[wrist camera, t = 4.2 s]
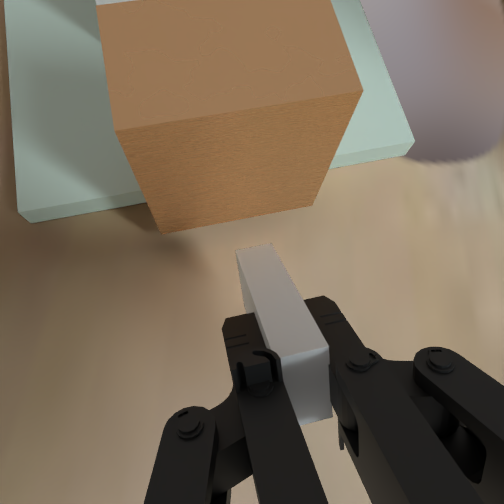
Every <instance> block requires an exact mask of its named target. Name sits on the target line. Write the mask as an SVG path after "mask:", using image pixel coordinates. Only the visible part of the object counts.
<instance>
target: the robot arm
mask: <svg viewBox="0 0 504 504" xmlns="http://www.w3.org/2000/svg"><path fill="white" fill-rule="evenodd" d="M235 252H236V258H237V264H238V270H239V277H240V283H241V289H242V295H243V301H244V306H245V310H246V313H247V314H243V315H239V316H234V317H230V318H226V319H225V322H224V325H223V327H222V332H223V337H224V342H225V347H226V352H227V357H228V362H229V366H230V371H231V376H232V380H233V388H232V391H231V393H230V395H229V396H228V398H227V399H226V400H225V401H224V402H222V403H221V404H219V405H218V406H216V407H215V408H213V409H211V410H208V409H206V408H204V407H198V406H192V407H187V408H183V409H182V410H180V411H178V412H176V413H175V414H174V415H173V416H172V417H171V418H170V419H169V420H168V421H167V423H166V425H165V427H164V430H163V434H162V437H161V441H160V445H159V449H158V452H157V456H156V460H155V464H154V467H153V471H152V475H151V478H150V482H149V486H148V490H147V493H146V497H145V501H144V504H230V499H231V488H232V487H234V486H235V485H237V484H238V483H240V482H241V481H243V480H244V479H246V478H248V477H249V476H251V475H252V474H253V479H254V483H255V488H256V492H257V497H258V502H259V504H328V501H327V498H326V496H325V493H324V490H323V488H322V485H321V482H320V479H319V477H318V474H317V471H316V469H315V466H314V463H313V460H312V458H311V455H310V452H309V450H308V447H307V444H306V441H305V439H304V436H303V433H302V431H301V428H300V425H304V424H308V423H312V422H315V421H319V420H323V419H327V418H331V417H333V415H332V406H333V408H334V410H335V412H336V414H337V416H338V433H339V446H340V450H343V449H344V443H345V445H346V448H347V450H348V452H349V454H350V456H351V458H352V461H353V463H354V465H355V467H356V469H357V472H358V474H359V476H360V478H361V480H362V483H363V485H364V487H365V489H366V491H367V493H368V496H369V498H370V500H371V502H372V504H504V386H503V385H502V384H500V383H499V382H497V381H496V380H495V379H493V378H492V377H490V376H489V375H487V374H486V373H485V372H483V371H482V370H480V369H479V368H478V367H476V366H475V365H473V364H472V363H470V362H469V361H468V360H466V359H465V358H463V357H462V356H461V355H459V354H457V353H456V352H454V351H452V350H450V349H446V348H442V347H427V348H424V349H421V350H420V351H419V352H417V353H416V355H415V357H414V361H392V360H386V359H383V358H382V357H381V356H380V355H379V354H378V353H377V352H375V351H373V350H371V349H369V348H365V346H364V345H363V343H362V342H361V340H360V339H359V337H358V336H357V334H356V333H355V331H354V330H353V328H352V327H351V325H350V324H349V323H348V321H346V318H345V317H344V315H343V314H342V313H341V311H340V309H339V308H338V306H337V305H336V303H335V302H334V301H332V300H330V299H329V298H327V297H325V296H320V297H315V298H311V299H306V300H303V299H302V297H301V295H300V293H299V292H298V290H297V288H296V286H295V284H294V283H293V281H292V279H291V277H290V275H289V274H288V272H287V270H286V268H285V267H284V265H283V263H282V261H281V259H280V258H279V256H278V254H277V252H276V250H275V249H274V247H273V245H272V243H269V244H264V245H259V246H254V247H249V248H244V249H239V250H235Z"/></svg>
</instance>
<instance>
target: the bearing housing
mask: <svg viewBox="0 0 504 504" xmlns="http://www.w3.org/2000/svg"><path fill="white" fill-rule="evenodd" d="M126 1H134V0H4V8H5V24H6V39H7V55H8V70H9V85H10V101H11V116H12V132H13V147H14V163H15V178H16V193H17V209H18V213H19V214H20V215H21V216H23V217H24V218H25V219H26V220H27V221H29V222H30V223H36V222H42V221H47V220H52V219H58V218H63V217H69V216H74V215H80V214H85V213H91V212H96V211H102V210H107V209H113V208H118V207H124V206H129V205H135V204H140V203H146V200H145V197H144V195H143V193H142V191H141V189H140V186H139V184H138V182H137V180H136V178H135V175H134V173H133V171H132V169H131V167H130V164H129V162H128V160H127V158H126V156H125V153H124V151H123V149H122V147H121V145H120V142H119V140H118V138H117V136H116V134H115V131H114V126H113V119H112V112H111V106H110V99H109V92H108V85H107V79H106V72H105V65H104V58H103V52H102V45H101V38H100V32H99V25H98V18H97V11H96V5H103V4H111V3H118V2H126ZM331 3H332V5H333V8H334V11H335V14H336V16H337V19H338V22H339V25H340V27H341V30H342V33H343V35H344V38H345V41H346V44H347V46H348V49H349V52H350V55H351V57H352V60H353V63H354V66H355V68H356V71H357V74H358V76H359V79H360V82H361V85H362V87H363V90H364V91H363V93H362V95H361V97H360V100H359V102H358V104H357V106H356V109H355V111H354V113H353V115H352V117H351V120H350V122H349V124H348V126H347V129H346V131H345V133H344V135H343V138H342V140H341V142H340V144H339V147H338V149H337V151H336V153H335V156H334V158H333V160H332V162H331V164H330V167H329V169H332V168H337V167H343V166H348V165H354V164H359V163H365V162H370V161H375V160H381V159H386V158H392V157H397V156H403V155H405V154H406V153H407V151H408V150H409V149H410V147H411V146H412V145H413V143H414V142H415V140H414V137H413V135H412V132H411V130H410V127H409V125H408V122H407V120H406V117H405V114H404V112H403V109H402V107H401V105H400V102H399V99H398V97H397V94H396V92H395V89H394V87H393V84H392V81H391V79H390V76H389V74H388V71H387V69H386V66H385V64H384V61H383V58H382V56H381V53H380V51H379V48H378V46H377V43H376V41H375V38H374V36H373V33H372V30H371V28H370V26H369V23H368V20H367V18H366V15H365V13H364V10H363V7H362V5H361V2H360V0H331Z"/></svg>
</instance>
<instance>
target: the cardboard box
mask: <svg viewBox="0 0 504 504" xmlns="http://www.w3.org/2000/svg"><path fill="white" fill-rule="evenodd" d="M96 11H97V18H98V25H99V32H100V38H101V45H102V52H103V58H104V65H105V72H106V79H107V85H108V92H109V99H110V106H111V112H112V119H113V126H114V131H115V134H116V136H117V138H118V140H119V142H120V145H121V147H122V149H123V151H124V153H125V156H126V158H127V160H128V162H129V164H130V167H131V169H132V171H133V173H134V175H135V178H136V180H137V182H138V184H139V186H140V189H141V191H142V193H143V195H144V197H145V200H146V202H147V204H148V206H149V208H150V211H151V213H152V215H153V217H154V220H155V222H156V224H157V226H158V228H159V231H160V233H161V234H166V233H171V232H176V231H181V230H187V229H192V228H197V227H202V226H207V225H213V224H218V223H223V222H228V221H233V220H239V219H244V218H249V217H254V216H260V215H265V214H270V213H275V212H280V211H286V210H291V209H296V208H301V207H306V206H312V205H313V203H314V200H315V198H316V196H317V194H318V191H319V189H320V187H321V185H322V182H323V180H324V178H325V176H326V173H327V171H328V169H329V167H330V164H331V162H332V160H333V158H334V156H335V153H336V151H337V149H338V147H339V144H340V142H341V140H342V138H343V135H344V133H345V131H346V129H347V126H348V124H349V122H350V120H351V117H352V115H353V113H354V111H355V109H356V106H357V104H358V102H359V100H360V97H361V95H362V93H363V91H364V90H363V87H362V85H361V82H360V79H359V76H358V74H357V71H356V68H355V66H354V63H353V60H352V57H351V55H350V52H349V49H348V46H347V44H346V41H345V38H344V35H343V33H342V30H341V27H340V25H339V22H338V19H337V16H336V14H335V11H334V8H333V5H332V3H331V0H134V1H126V2H118V3H111V4H103V5H96Z"/></svg>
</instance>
